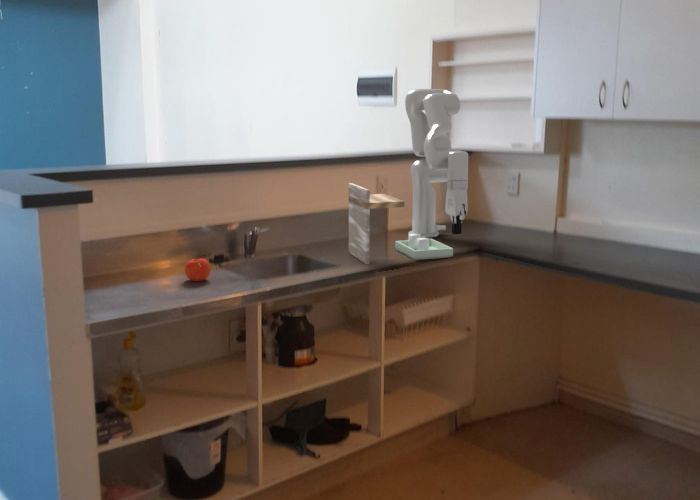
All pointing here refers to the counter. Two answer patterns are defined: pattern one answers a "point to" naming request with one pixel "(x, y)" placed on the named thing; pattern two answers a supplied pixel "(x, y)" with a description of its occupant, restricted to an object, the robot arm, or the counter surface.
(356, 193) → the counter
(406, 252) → the tray
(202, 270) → the apple
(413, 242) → the grey rounded piece
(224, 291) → the counter surface
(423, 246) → the white egg
